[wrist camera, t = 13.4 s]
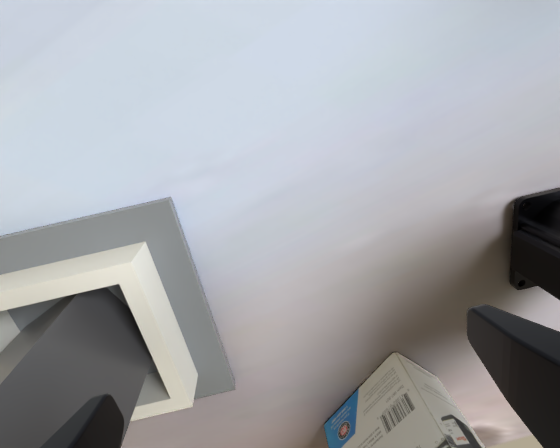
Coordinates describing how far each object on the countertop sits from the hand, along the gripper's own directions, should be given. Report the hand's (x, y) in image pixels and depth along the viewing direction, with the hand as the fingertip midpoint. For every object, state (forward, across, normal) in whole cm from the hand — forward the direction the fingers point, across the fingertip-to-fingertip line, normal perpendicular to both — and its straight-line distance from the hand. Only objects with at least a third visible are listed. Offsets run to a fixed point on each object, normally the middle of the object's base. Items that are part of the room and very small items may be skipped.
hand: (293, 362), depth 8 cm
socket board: (+12, +12, +5) cm, 18 cm away
